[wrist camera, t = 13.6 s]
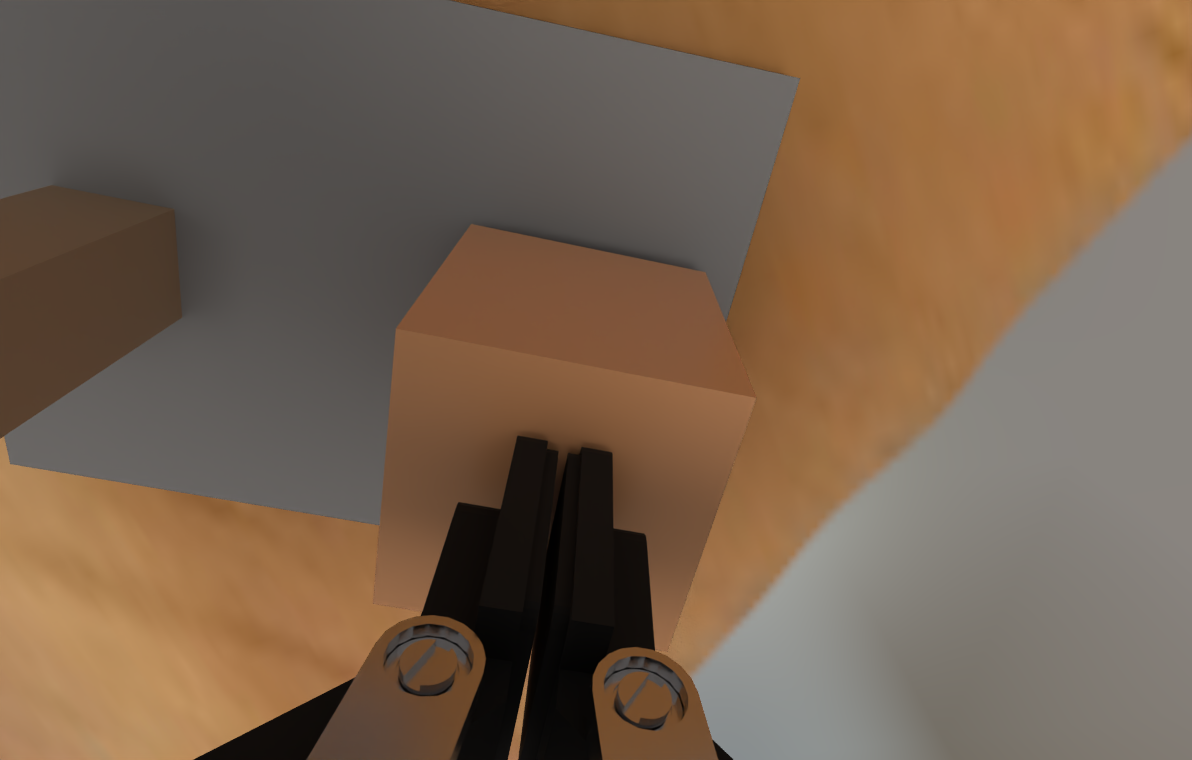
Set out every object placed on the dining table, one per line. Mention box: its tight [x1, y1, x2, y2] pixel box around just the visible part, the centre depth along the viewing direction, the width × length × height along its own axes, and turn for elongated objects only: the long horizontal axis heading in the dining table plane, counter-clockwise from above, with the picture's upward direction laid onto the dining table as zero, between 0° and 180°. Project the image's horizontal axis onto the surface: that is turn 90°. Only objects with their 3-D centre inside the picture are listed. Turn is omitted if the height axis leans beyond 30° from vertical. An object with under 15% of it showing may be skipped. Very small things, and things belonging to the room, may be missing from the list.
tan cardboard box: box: [373, 224, 757, 652], centre depth 15 cm, size 6×6×7 cm
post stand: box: [0, 0, 800, 525], centre depth 16 cm, size 15×20×8 cm
